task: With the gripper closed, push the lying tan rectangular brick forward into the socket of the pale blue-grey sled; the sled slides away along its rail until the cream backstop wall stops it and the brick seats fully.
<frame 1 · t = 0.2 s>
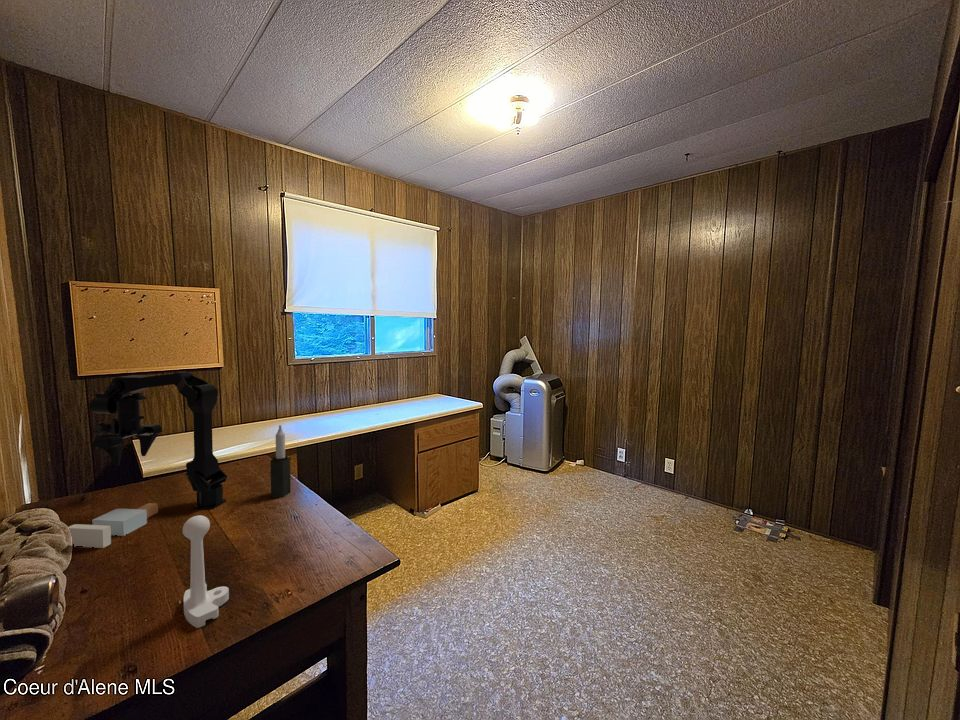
hand: (130, 460, 125), 14 cm above the table, fingers open, 9 cm apart
sled: (120, 521, 109), point 2 cm above the table, slide at 0.0 cm
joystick: (207, 607, 79), on the table
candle: (280, 494, 135), on the table
tan rectangular brick: (144, 517, 116), on the table
backstop wall: (89, 545, 100), on the table
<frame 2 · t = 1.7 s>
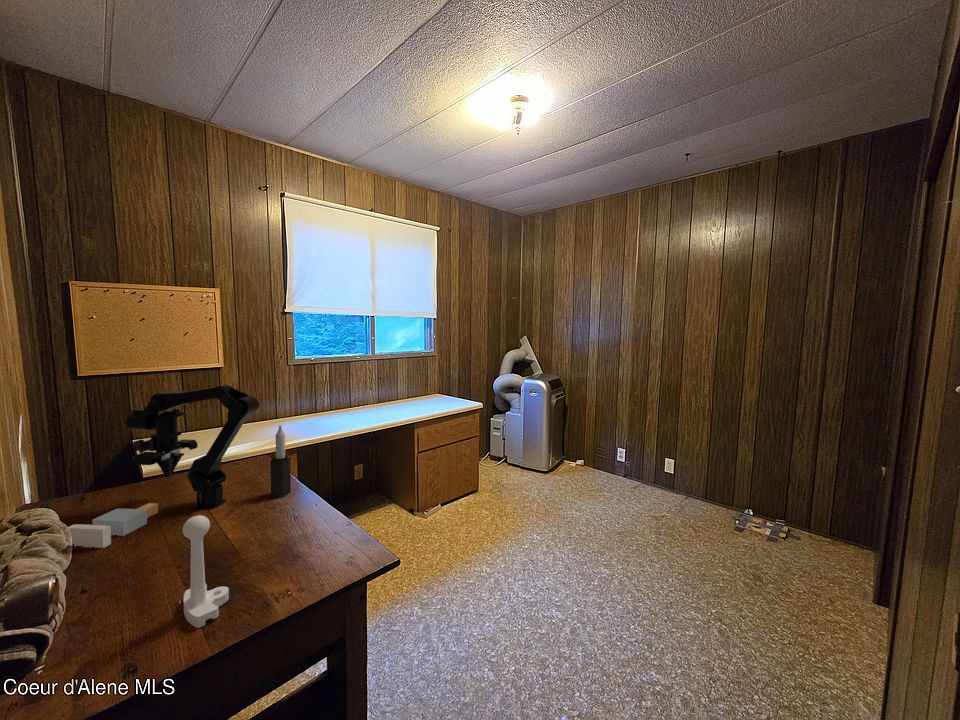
hand: (168, 477, 124), 9 cm above the table, fingers closed
nothing on the table moved.
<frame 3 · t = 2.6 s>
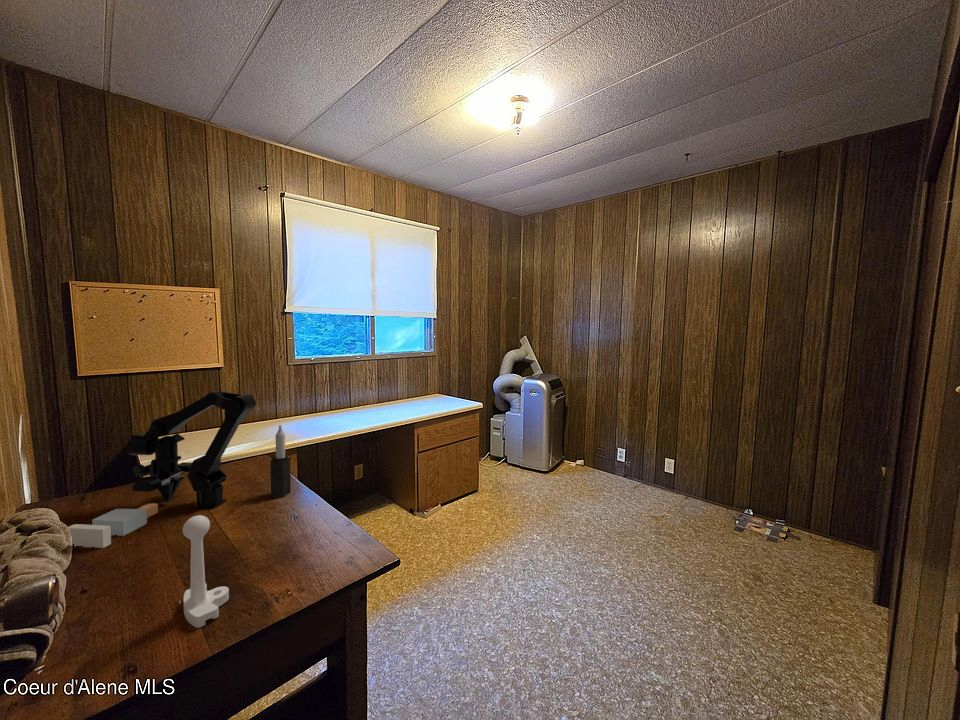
hand: (167, 501, 124), 1 cm above the table, fingers closed
nothing on the table moved.
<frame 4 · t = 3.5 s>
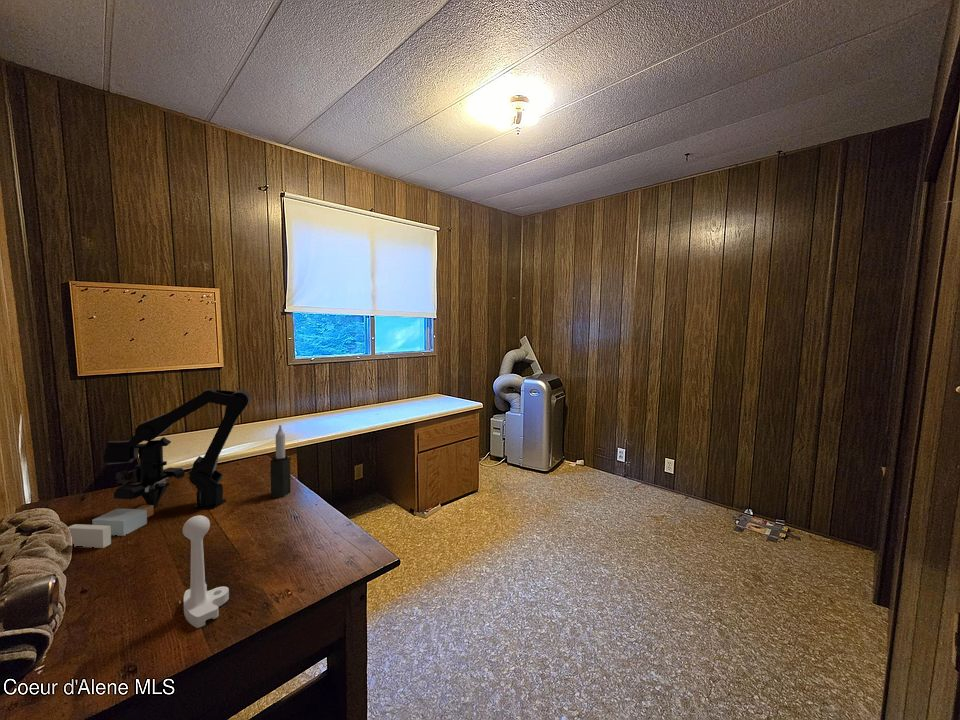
hand: (152, 508, 119), 1 cm above the table, fingers closed
tan rectangular brick: (139, 518, 115), on the table, touching gripper
everything else where it was.
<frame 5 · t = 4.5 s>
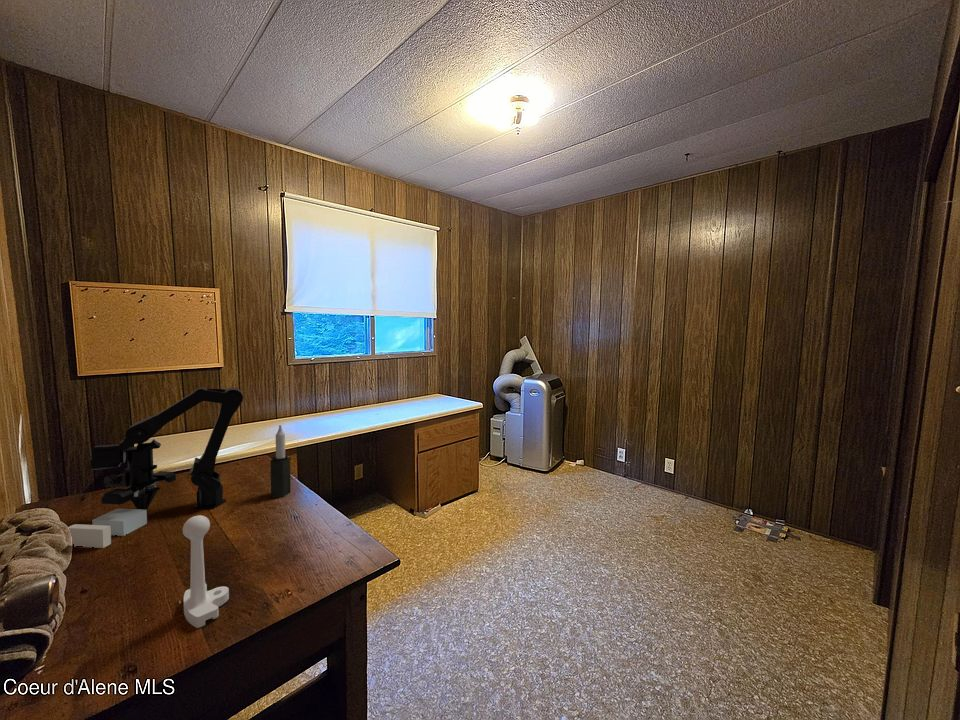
hand: (142, 513, 116), 1 cm above the table, fingers closed
tan rectangular brick: (130, 525, 112), on the table, touching gripper
everything else where it was.
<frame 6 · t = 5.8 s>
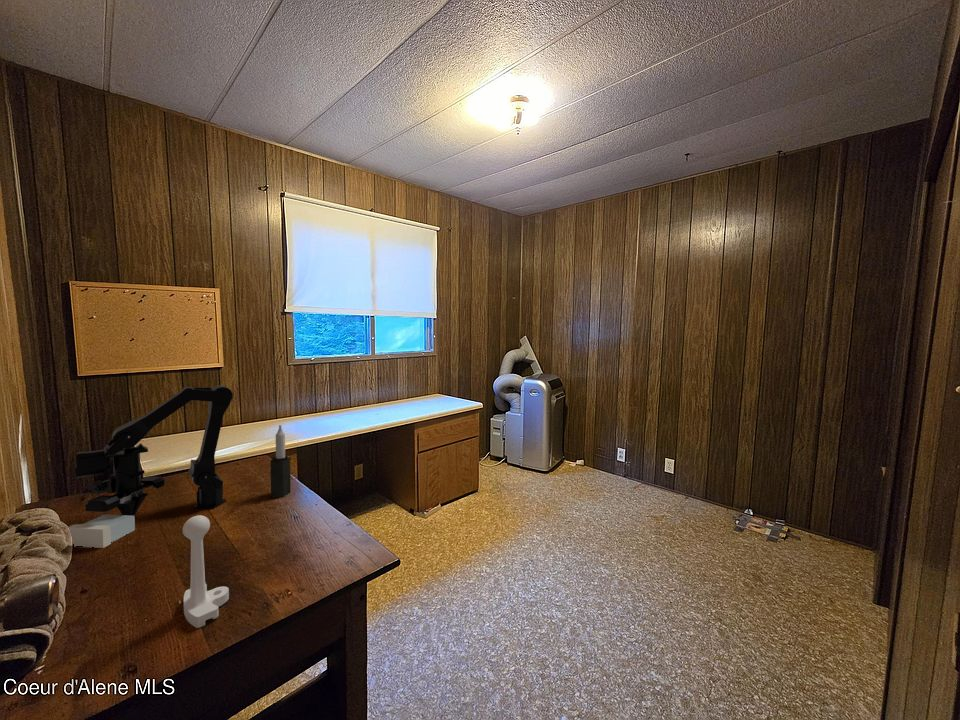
hand: (129, 521, 111), 1 cm above the table, fingers closed
sled: (107, 528, 105), point 2 cm above the table, slide at 3.8 cm, touching tan rectangular brick
tan rectangular brick: (115, 532, 107), on the table, touching sled
everything else where it was.
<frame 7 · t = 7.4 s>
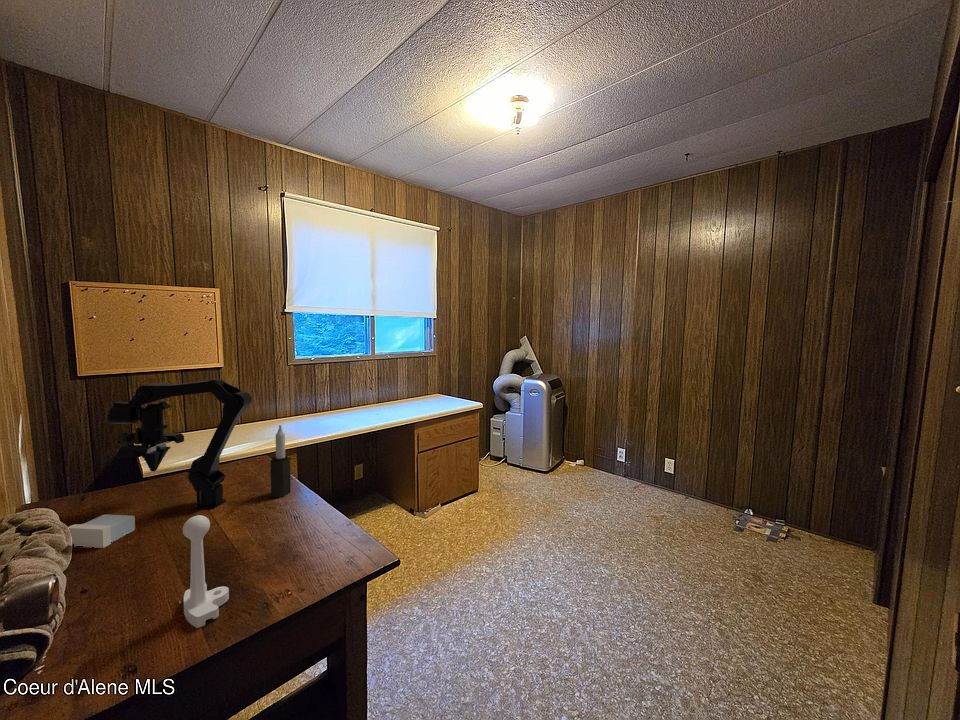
hand: (153, 471, 121), 12 cm above the table, fingers closed
sled: (107, 528, 105), point 2 cm above the table, slide at 3.8 cm
tan rectangular brick: (115, 532, 107), on the table
everything else where it was.
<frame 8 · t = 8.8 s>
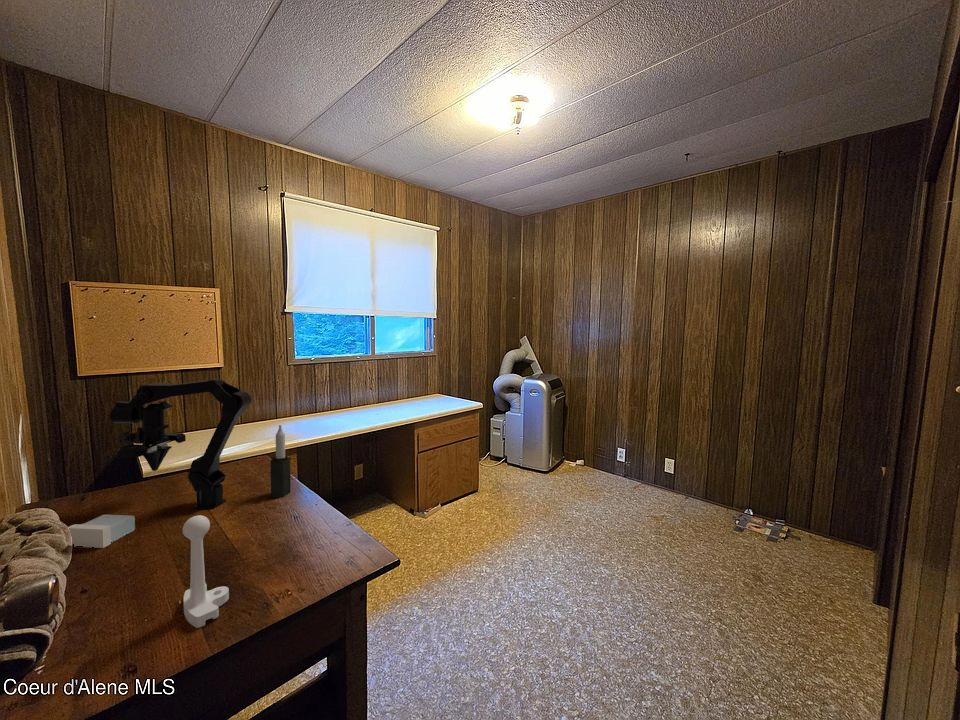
hand: (154, 470, 122), 12 cm above the table, fingers closed
nothing on the table moved.
at the end: sled slide at 3.8 cm; tan rectangular brick 0.3 cm from the target spot on the sled, point 0.0 cm above the sled's base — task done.
